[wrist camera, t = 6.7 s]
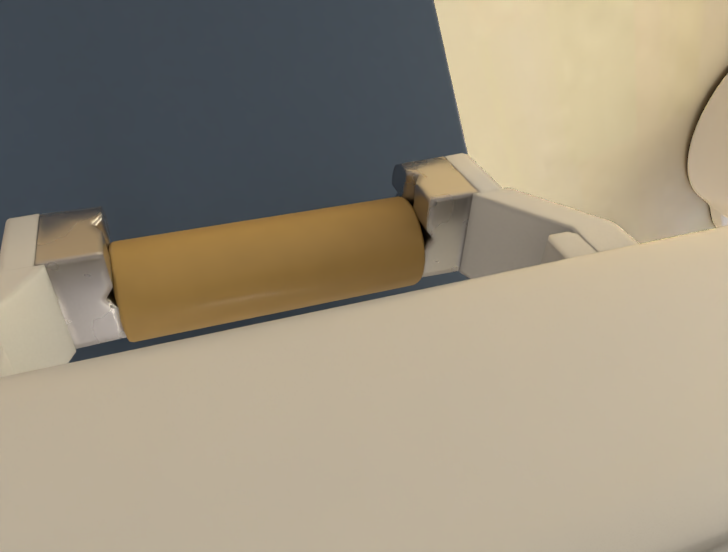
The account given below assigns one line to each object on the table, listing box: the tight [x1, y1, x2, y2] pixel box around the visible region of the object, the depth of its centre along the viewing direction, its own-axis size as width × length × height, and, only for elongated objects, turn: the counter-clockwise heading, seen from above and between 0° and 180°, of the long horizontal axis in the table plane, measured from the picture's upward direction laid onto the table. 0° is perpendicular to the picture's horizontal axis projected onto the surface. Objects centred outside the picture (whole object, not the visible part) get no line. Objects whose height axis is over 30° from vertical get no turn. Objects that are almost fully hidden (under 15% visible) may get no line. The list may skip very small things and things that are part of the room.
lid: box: [0, 0, 470, 363], centre depth 13 cm, size 13×13×5 cm
